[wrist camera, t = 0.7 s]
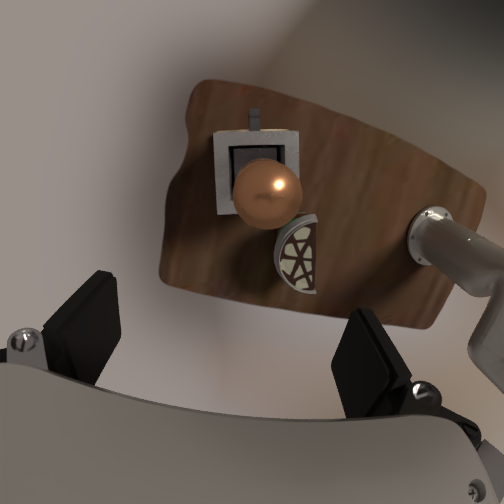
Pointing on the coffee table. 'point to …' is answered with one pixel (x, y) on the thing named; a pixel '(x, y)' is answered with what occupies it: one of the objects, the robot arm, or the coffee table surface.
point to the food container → (297, 252)
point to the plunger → (264, 188)
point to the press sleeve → (226, 140)
